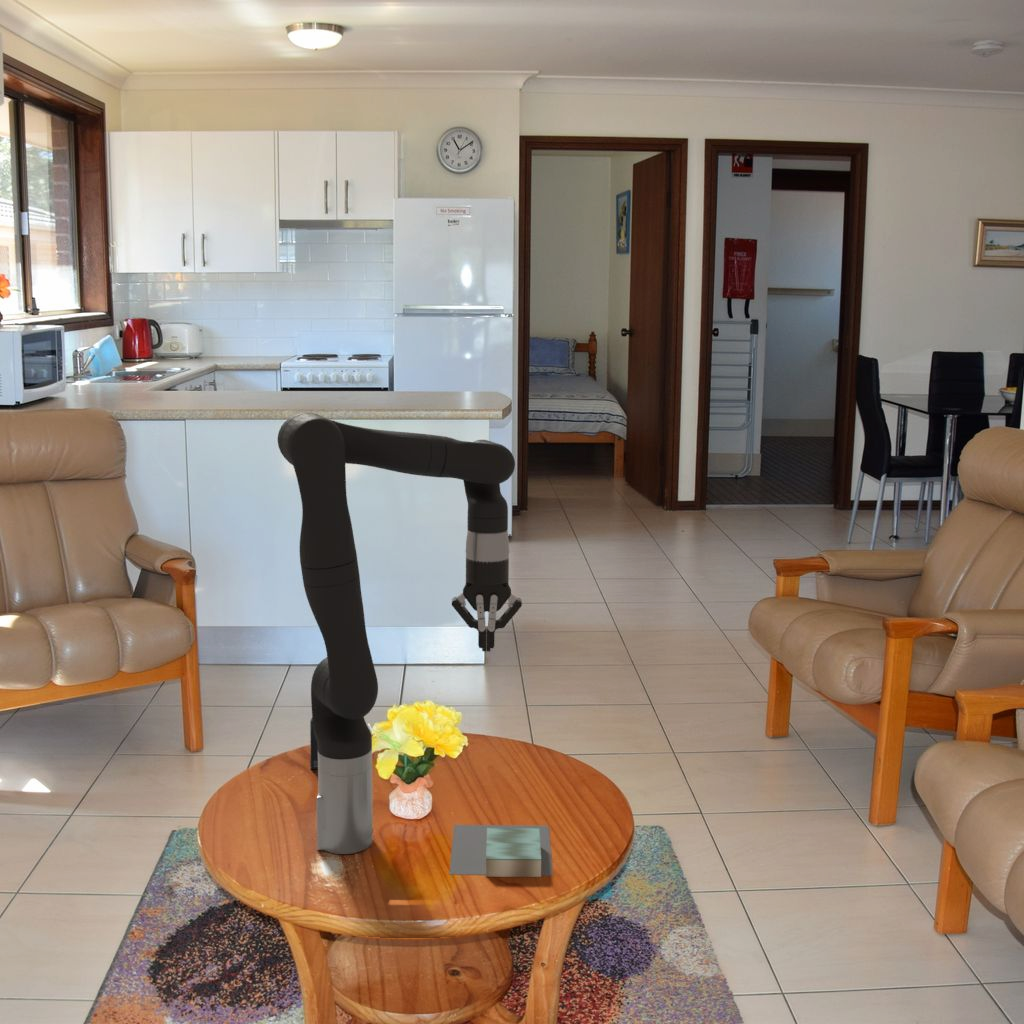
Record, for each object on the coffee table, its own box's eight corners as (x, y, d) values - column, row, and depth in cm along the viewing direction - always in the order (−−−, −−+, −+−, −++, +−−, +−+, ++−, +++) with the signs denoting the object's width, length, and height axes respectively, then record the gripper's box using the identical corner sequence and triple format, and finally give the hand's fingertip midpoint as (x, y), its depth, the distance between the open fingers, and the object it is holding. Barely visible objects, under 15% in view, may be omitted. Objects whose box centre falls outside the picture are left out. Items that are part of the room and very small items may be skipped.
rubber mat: (449, 877, 191) (449, 874, 191) (454, 827, 209) (454, 824, 209) (552, 878, 191) (552, 875, 191) (548, 828, 209) (548, 825, 209)
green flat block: (486, 844, 201) (485, 876, 190) (487, 828, 201) (486, 858, 190) (538, 845, 201) (540, 876, 191) (539, 828, 201) (541, 859, 190)
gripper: (448, 559, 200) (448, 656, 203) (525, 560, 200) (524, 657, 203) (450, 549, 207) (450, 643, 210) (524, 550, 207) (523, 644, 210)
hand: (486, 650), depth 207 cm, fingers closed
